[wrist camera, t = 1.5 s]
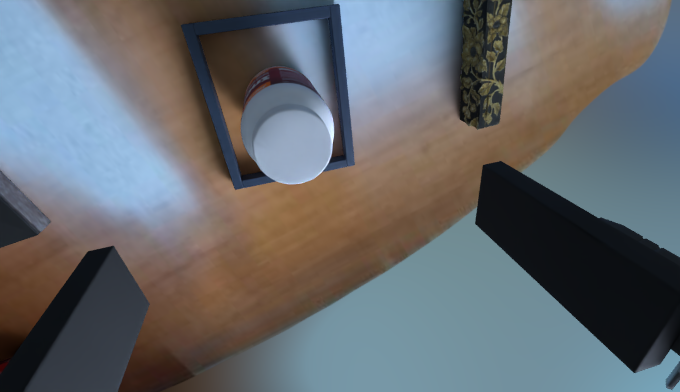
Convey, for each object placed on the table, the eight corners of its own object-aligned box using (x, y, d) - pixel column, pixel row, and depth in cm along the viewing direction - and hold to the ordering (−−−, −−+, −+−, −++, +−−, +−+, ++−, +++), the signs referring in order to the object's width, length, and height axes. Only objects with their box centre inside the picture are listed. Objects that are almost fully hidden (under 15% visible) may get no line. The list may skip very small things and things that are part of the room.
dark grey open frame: (183, 24, 23) (180, 24, 22) (336, 4, 25) (339, 4, 24) (235, 184, 30) (234, 190, 29) (351, 160, 32) (355, 165, 31)
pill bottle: (254, 53, 25) (254, 76, 16) (325, 79, 28) (362, 113, 18) (236, 125, 28) (227, 182, 18) (303, 144, 30) (325, 203, 21)
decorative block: (464, -70, 24) (492, -82, 21) (492, -76, 25) (524, -88, 22) (457, 120, 33) (477, 131, 30) (478, 115, 33) (501, 125, 30)
